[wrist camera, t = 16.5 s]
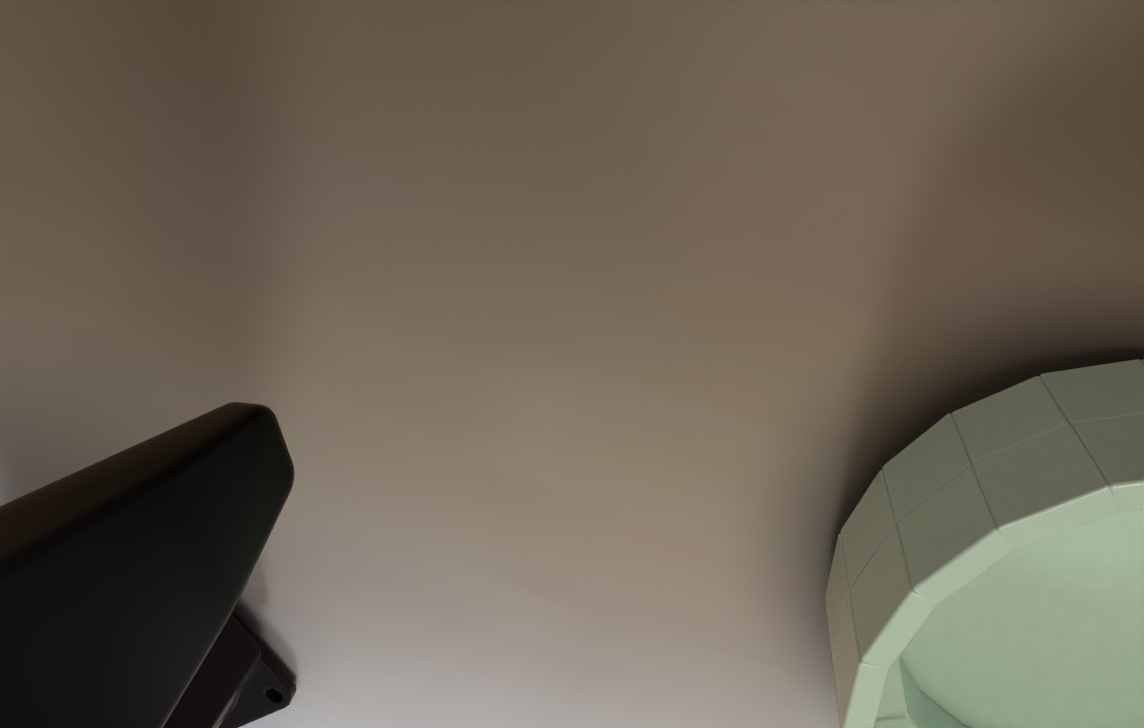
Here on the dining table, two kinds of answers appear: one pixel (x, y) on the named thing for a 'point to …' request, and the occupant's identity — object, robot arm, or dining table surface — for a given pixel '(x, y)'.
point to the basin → (1001, 565)
